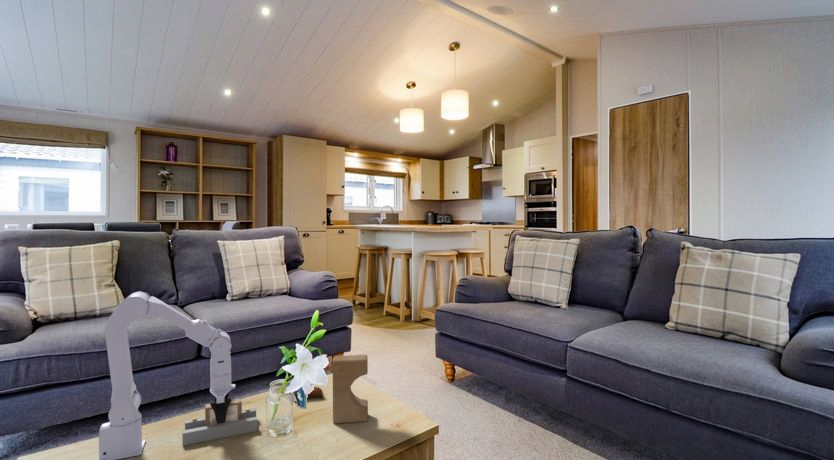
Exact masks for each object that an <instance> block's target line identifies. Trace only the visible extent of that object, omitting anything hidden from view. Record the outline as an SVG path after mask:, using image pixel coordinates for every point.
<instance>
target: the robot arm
mask: <svg viewBox="0 0 834 460" xmlns="http://www.w3.org/2000/svg"><path fill="white" fill-rule="evenodd" d="M146 314H147V315H146ZM144 315H146V317H145V318H146V319H150V318H160V319H162V320H165V321H167V322H168V323H169V324H173V325H175V326H176V327H177V328H180V329H182V330H184V332H185V337H187V338H189V339H191V340H192V341H194V342H196V343H198V344H200V345H202V346H203V347H206V348H209V351H210V354H211V355H210V357H211V358H210V359H209V360H210V361H209V362H210V363H209V367H210V368H209V371H210V372H209V373H210V374H209V375H210V376H209V377H210V382H209V383H210V388H209V392H210V393H211V394H212V395H213V397H214V399H212V400H210V401H209V404H210V405H211V407H212V408H213V410H214V413H215V417H216V421H217V424H219V423H224V422H225V420H226V415H227V410H228V406H229V404H230V402H231V400H232V398H229V395H230V392H231V390H234V389H236V384H235V383H232V356H231V349H232V345H233V344H232V342H231V337H230V335H229V334H228V333H227V332H226V331H224V330H222V329H220V328H215V327H214V326H212V325H210V324H209V323H208V320H206V319H203V320H201V319H200V318H198V319H191V318H189V317H188V316H186V315H185V314H183V313H182V312H180V311H178V310H177V309H175V308H173V306H170V305H169V304H167V303H166V302H164V301H162V300H160V298H157V297H155V296H153V295H152V296H150V295H149V293H147V292H143V291H136V292H132V293H131V294H129V295H128V296H126V297H125V298H124V299H123V300H122V301H121V302H120V303H119V304H117V305H116V306H115V308H114V310H113V312H112V313H111V315H110V316H109V318H108V319H107V321H106V323H105V325H104V335H105V341H106V343H105V344H106V350H107V351H106V352H107V359H108V366H109V367H108V368H109V375H110V383H111V390H112V391H111V398H110V404H111V405H110V409H109V411H108V414H107V415H108V420H109V421H107V422H104V423H102V424H101V425H100V428H99V432H98V458H99V459H98V460H121V459H125V458H126V459H127V458H131V457H136V456H140V455H141V454H142V452H143V450H144V447H145V445H146V442H147V440H146V439H143V436H142V435H143V434H142V433H143V432H142V429H143V428H142V427H143V426H142V425H143V424H142V422H143V421H142V413H141V412H140V411H139V407H140V405H141V404H142V395H141V394H140V393H139V391H138V389H137V385H136V384H135V381H134V376H133V367H132V366H133V365H132V360H131V350H130V344H129V334H128V327H130V326H131V325H132V324H133V322H135V321H137V320H139V319H140V318H142V317H144Z"/></svg>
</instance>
